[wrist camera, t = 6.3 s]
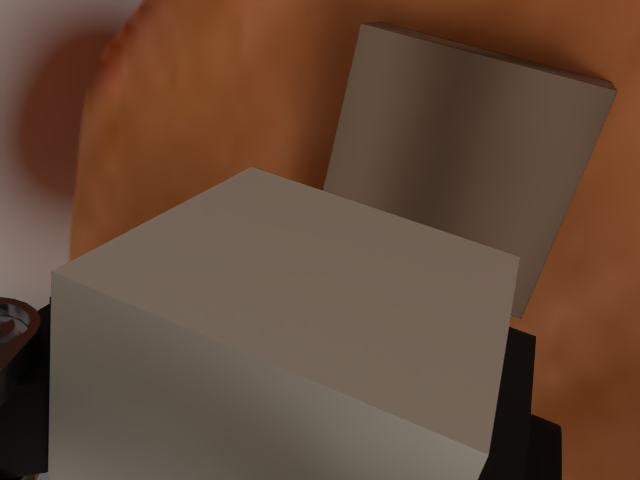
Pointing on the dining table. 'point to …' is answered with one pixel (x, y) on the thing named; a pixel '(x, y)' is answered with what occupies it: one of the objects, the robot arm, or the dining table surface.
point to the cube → (277, 344)
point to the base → (466, 141)
